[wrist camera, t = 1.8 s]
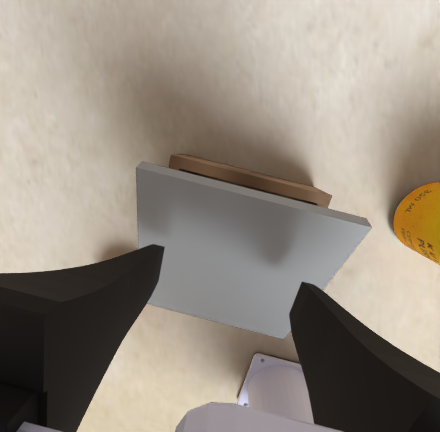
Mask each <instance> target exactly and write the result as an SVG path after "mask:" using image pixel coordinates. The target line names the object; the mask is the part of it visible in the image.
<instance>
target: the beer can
mask: <svg viewBox="0 0 440 432" xmlns="http://www.w3.org/2000/svg"><path fill="white" fill-rule="evenodd" d="M394 231H395V234H396V236H397V237H398V239H399V240H400V241H401V242H402V243H403V244H404V245H405V246H407V247H409V248H411V249H412V250H414V251H416V252H418V253H420V254H421V255H423V256H425V257H427V258H428V259H430V260H432V261H434V262H436V263H437V264H439V265H440V182H434V183H429V184H426V185H423V186H421V187H419V188H417V189H415V190H414V191H412V192H411V193H410V194H408V195H407V196H406V197H405V198H404V199H403V200H402V201H401V202H400V204H399V205H398V207H397V209H396V211H395V215H394Z"/></svg>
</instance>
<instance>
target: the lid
mask: <svg viewBox="0 0 440 432" xmlns="http://www.w3.org/2000/svg"><path fill="white" fill-rule="evenodd" d="M136 184H137V220H138V249H140V248H143V247H146V246H148V245H151V244H156V245H160V246H164V247H165V249H164V254H163V260H162V265H161V271H160V276H159V281H158V283H157V285H156V288H155V290H154V292H153V294H152V296H151V298H150V299H149V301H148V302H147V304H149V305H153V306H157V307H161V308H165V309H169V310H172V311H176V312H180V313H184V314H188V315H192V316H196V317H199V318H203V319H207V320H211V321H215V322H219V323H223V324H226V325H230V326H234V327H238V328H242V329H246V330H249V331H253V332H257V333H261V334H265V335H269V336H273V337H276V338H280V339H285V337H286V336H287V335H288V333H289V332H290V331H291V326H290V318H289V313H290V310H291V308H292V305H293V303H294V300H295V298H296V295H297V292H298V290H299V287H300V285H301V282H306V283H310V284H314V285H315V286H317V287H318V288H320V289H321V290H323V289H324V288H325V287H326V285H327V284H328V283H329V281H330V280H331V279H332V278H333V276H334V275H335V274H336V273H337V271H338V270H339V269H340V268H341V266H342V265H343V264H344V262H345V261H346V260H347V259H348V257H349V256H350V255H351V254H352V252H353V251H354V250H355V249H356V247H357V246H358V245H359V243H360V242H361V241H362V240H363V238H364V237H365V236H366V235H367V233H368V232H369V231H370V230H371V228H372V227H371V225H370V223H369V222H368V220H367V219H366V218H363V217H359V216H355V215H351V214H347V213H343V212H339V211H335V210H332V209H328V208H324V207H320V206H316V205H312V204H308V203H304V202H300V201H296V200H292V199H288V198H284V197H280V196H276V195H273V194H269V193H265V192H261V191H257V190H253V189H249V188H245V187H241V186H237V185H233V184H229V183H225V182H221V181H217V180H213V179H210V178H206V177H202V176H198V175H194V174H190V173H186V172H182V171H178V170H174V169H170V168H166V167H162V166H158V165H154V164H151V163H147V162H142V163H140V164H139V165H138V166H137V167H136Z"/></svg>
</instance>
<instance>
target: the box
mask: <svg viewBox="0 0 440 432" xmlns="http://www.w3.org/2000/svg"><path fill="white" fill-rule="evenodd" d="M169 168H170V169H174V170H178V171H182V172H186V173H190V174H194V175H198V176H202V177H206V178H210V179H213V180H217V181H221V182H225V183H229V184H233V185H237V186H241V187H245V188H249V189H253V190H257V191H261V192H265V193H269V194H273V195H276V196H280V197H284V198H288V199H292V200H296V201H300V202H304V203H308V204H312V205H316V206H320V207H324V208H328V205H329V203H330V200H331V198H332V195H330V194H328V193H325V192H323V191H321V190H319V189H317V188H315V187H311V186H307V185H303V184H299V183H295V182H291V181H287V180H284V179H280V178H276V177H272V176H268V175H264V174H260V173H256V172H252V171H248V170H244V169H240V168H236V167H232V166H228V165H224V164H220V163H216V162H213V161H209V160H205V159H201V158H197V157H193V156H189V155H185V154H177V155H171V157H170V163H169Z"/></svg>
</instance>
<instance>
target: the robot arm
mask: <svg viewBox="0 0 440 432" xmlns="http://www.w3.org/2000/svg"><path fill="white" fill-rule="evenodd" d="M164 249H165V247H164V246H160V245H156V244H151V245H148V246H146V247H143V248H140V249H138V250H135V251H133V252H130V253H127V254H125V255H122V256H119V257H116V258H112V259H109V260H106V261H103V262H99V263H95V264H90V265H86V266H81V267H74V268H68V269H62V270H54V271H44V272H31V273H0V432H76V431H77V429H78V427H79V425H80V423H81V421H82V419H83V417H84V415H85V413H86V410H87V408H88V406H89V404H90V402H91V400H92V398H93V396H94V394H95V392H96V390H97V388H98V386H99V384H100V382H101V380H102V378H103V376H104V374H105V373H106V371H107V369H108V367H109V365H110V363H111V361H112V359H113V357H114V355H115V353H116V351H117V350H118V348H119V346H120V344H121V342H122V341H123V339H124V337H125V336H126V334H127V332H128V331H129V329H130V328H131V326H132V325H133V323H134V322H135V320H136V319H137V317H138V316H139V314H140V313H141V311H142V310H143V308H144V307H145V305H146V304H147V302H148V301H149V299H150V298H151V296H152V294H153V292H154V290H155V288H156V285H157V283H158V281H159V276H160V271H161V265H162V260H163V254H164ZM289 318H290V326H291V332H292V336H293V340H294V343H295V347H296V350H297V354H298V357H299V360H300V364H298V363H294V362H290V361H286V360H283V359H279V358H275V357H271V356H267V355H263V354H260V353H256V354H255V355H254V356H253V359H252V362H251V365H250V367H249V370H248V373H247V375H246V378H245V381H244V384H243V386H242V389H241V392H240V395H239V397H238V404H233V403H217V402H210V403H208V404H205V405H202V406H200V407H197V408H194V409H192V410H190V411H188V412H187V413H186V415H185V416H184V417H183V419H182V420H181V421H180V423H179V424H178V425H177V427H176V430H175V432H440V373H439V372H437V371H435V370H434V369H432V368H430V367H428V366H426V365H425V364H423V363H421V362H420V361H418V360H416V359H415V358H413V357H411V356H410V355H408V354H406V353H405V352H403V351H401V350H400V349H398V348H397V347H395V346H394V345H392V344H391V343H389V342H388V341H386V340H385V339H383V338H382V337H380V336H379V335H377V334H376V333H375V332H373V331H372V330H370V329H369V328H368V327H366V326H365V325H364V324H363V323H361V322H360V321H359V320H357V319H356V318H355V317H354V316H352V315H351V314H350V313H349V312H347V311H346V310H345V309H344V308H343V307H341V306H340V305H339V304H338V303H337V302H335V301H334V300H333V299H332V298H331V297H330V296H328V295H327V294H326V293H325V292H323V291H322V290H321V289H320V288H318V287H317V286H315V285H314V284H310V283H306V282H301V285H300V287H299V290H298V292H297V295H296V298H295V300H294V303H293V305H292V308H291V310H290V313H289Z"/></svg>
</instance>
